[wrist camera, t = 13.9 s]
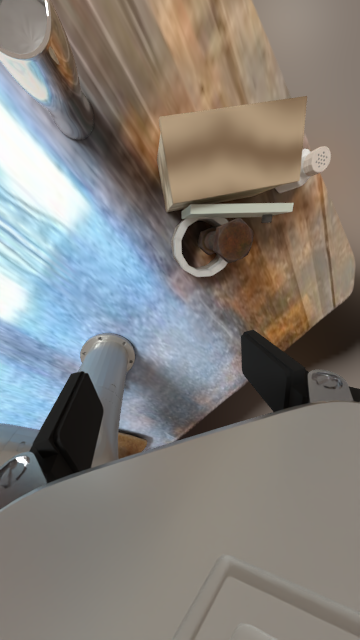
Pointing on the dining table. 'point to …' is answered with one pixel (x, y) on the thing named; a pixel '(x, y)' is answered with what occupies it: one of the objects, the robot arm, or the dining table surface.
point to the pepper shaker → (309, 167)
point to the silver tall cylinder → (44, 63)
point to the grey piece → (217, 216)
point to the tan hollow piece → (129, 445)
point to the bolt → (227, 240)
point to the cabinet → (229, 153)
